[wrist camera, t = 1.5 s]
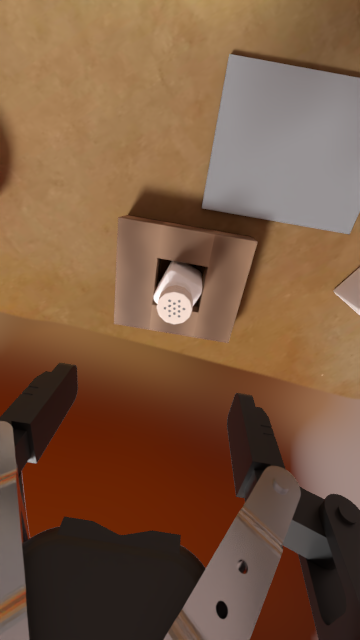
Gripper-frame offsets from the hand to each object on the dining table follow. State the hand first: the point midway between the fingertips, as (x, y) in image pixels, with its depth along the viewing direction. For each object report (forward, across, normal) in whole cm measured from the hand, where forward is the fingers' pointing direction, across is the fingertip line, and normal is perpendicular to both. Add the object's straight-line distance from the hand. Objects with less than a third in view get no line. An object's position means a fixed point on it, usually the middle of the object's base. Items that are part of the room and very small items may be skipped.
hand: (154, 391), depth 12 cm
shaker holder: (+20, 0, 0) cm, 20 cm away
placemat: (+20, -9, -14) cm, 26 cm away
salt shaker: (+20, 0, 0) cm, 20 cm away
